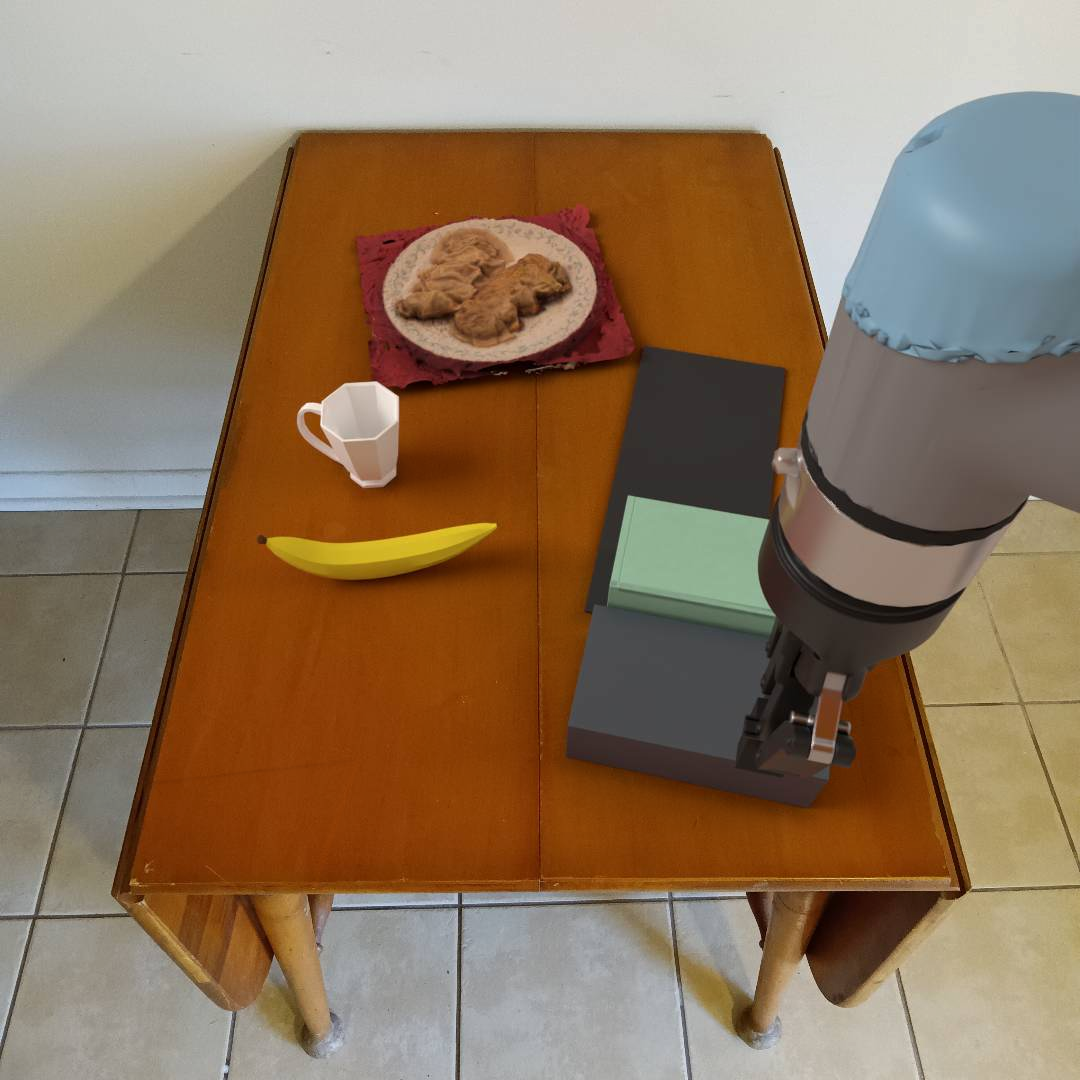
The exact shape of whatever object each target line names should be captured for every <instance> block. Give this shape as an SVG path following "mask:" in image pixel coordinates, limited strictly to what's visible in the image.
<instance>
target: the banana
mask: <svg viewBox="0 0 1080 1080" xmlns="http://www.w3.org/2000/svg"><path fill="white" fill-rule="evenodd" d="M498 527H499V524H498V523H495V522H494V523H490V522H480V523H479V522H478V523H472V524H471V523H470V524H464V525H457V526H452V527H451V526H450V527H445V528H441V529H435V530H431V531H427V532H422V533H415V534H410V535H404V536H397V537H392V538H391V537H390V538H385V539H376V540H369V541H357V542H356V541H355V542H323V541H319V540H311V539H307V538H300V537H294V536H274V537H265V536H264V535H263V534H259V535H257V537H256V541H257V544H258V545H265V546H266V547H267V549H269V550H270V551H271V552H272V553H273V554H274V555H275V556H276V557H278V558H279V559H280V560H282V561H283V562H285V563H287V564H288V565H290V566H292V567H294V568H296V569H298V570H300V571H303V572H305V573H308V574H310V575H314V576H318V577H321V578H327V579H332V580H333V579H335V580H346V581H347V580H349V581H356V580H357V581H358V580H361V581H362V580H373V579H380V578H388V577H389V578H390V577H394V576H398V575H402V574H407V573H408V574H409V573H411V572H415V571H419V570H422V569H426V568H430V567H432V566H435V565H438V564H441V563H444V562H447V561H448V560H451V559H453V558H455V557H457V556H460V555H461V554H463V553H464V552H466V551H467V550H470V548H472V547H474V546H475V545H477V544H479V543H480V542H481V541H482V540H484V539H485V538H487V537H488V536H489V535H490V534H492V533H493V532H494V531H495V530H497V529H498Z"/></svg>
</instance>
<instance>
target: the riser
mask: <svg viewBox="0 0 1080 1080" xmlns="http://www.w3.org/2000/svg"><path fill="white" fill-rule="evenodd" d="M768 641H769V638H767V637H762V636H757V635H752V634H746V633H741V632H736V631H731V630H726V629H720V628H715V627H710V626H705V625H700V624H694V623H689V622H684V621H679V620H674V619H668V618H663V617H658V616H653V615H648V614H642V613H637V612H632V611H627V610H622V609H616V608H611V607H606V606H601V605H596V604H595V605H594V608H593V613H591V617H590V623H589V626H588V632H587V636H586V641H585V646H584V649H583V654H582V658H581V663H580V667H579V672H578V676H577V677H578V678H577V682H576V685H575V686H576V687H575V691H574V695H573V700H572V705H571V710H570V714H569V719H568V724H567V732H566V733H567V734H566V747H565V748H566V750H565V757H566V758H570V759H574V760H579V761H583V762H588V763H593V764H597V765H603V766H607V767H611V768H617V769H621V770H626V771H631V772H635V773H640V774H645V775H650V776H653V777H659V778H663V779H669V780H674V781H678V782H682V783H687V784H692V785H696V786H700V787H705V788H710V789H716V790H721V791H725V792H729V793H733V794H740V795H742V796H743V795H744V796H749V797H753V798H758V799H762V800H767V801H772V802H775V803H782V804H786V805H791V806H795V807H800V808H805V809H809V808H810V806H811V805H812V804H813V802H814V801H815V800H816V798H817V797H818V796H819V794H820V792H821V791H822V790H823V789H824V787H825V786H826V785H827V783H828V782H829V781H830V769H831V768H830V767H831V765H830V766H828V767H826V768H824V769H823V770H821V771H819V772H818V773H816V774H814V775H813V776H811V777H809V778H807V779H806V778H801V777H795V776H791V775H786V774H784V776H783V778H781V777H776V776H771V775H766V774H761V773H756V772H751V771H747V770H742V769H737V768H735V764H736V755H737V746H738V742H739V740H740V738H741V735H742V733H743V725H744V720H745V716H746V715H750V714H751V712H752V710H753V707H754V705H755V703H756V700H757V698H758V697H760V698H764V696H765V694H762V689H761V687H760V682H761V678H762V677H763V674H765V671H766V669H767V666H768V664H769V662H770V659H769V658H767V652H766V651H765V646H766V642H768Z"/></svg>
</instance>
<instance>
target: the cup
mask: <svg viewBox="0 0 1080 1080" xmlns="http://www.w3.org/2000/svg"><path fill="white" fill-rule="evenodd" d="M306 413H313V414H316V415H319V416H320V422H319V423H320V425H319V426H320V428H321V429H322V431H323V434H324V435H325V437H326V439H327V440H328V442H329V444H330V446H329V445H328V444H326V443H325V442H324V441H322V440H321V439H319V438H318V437H317V436H316V435H315V434H313V433H312V432H311V431H310V430H309V428H308V427H307V425H306V422H305V421H306V420H305V414H306ZM296 416H297V417H296V424H297V429H298V431H299V433H300V434H301V436H302V437H303V439H304V440H305V441H306V442H308V443H309V444H310V445H311V447H313V448H315V449H316V450H318V451H319V452H321V453H322V454H323V455H325V456H327V457H329V458H330V459H332V460H333V461H335V462H337V463H339V464H341V465H343V466H344V468H345V469H346V471H347V472H349V473H350V474H349V476H350V479H351V480H352V481H353V482H355V483H356V484H357V485H359V486H360V487H362V488H363V489H374V488H383V487H385V486H386V485H388V483H389V482H391V481H392V480H393V479H394V478H395V477H396V476H397V462H398V458H399V435H400V434H399V431H400V430H399V429H400V395H397V394H396V393H394V392H393V391H392V390H390V389H388V387H384V386H382V385H381V384H380V383H378V382H377V381H376V382H372V381H362V382H361V381H360V382H345V383H344V384H342V385H341V386H339V387H338V388H336V390H334V391H333V392H332V393H330V394H329V395H328V396H327V397H325V398H324V399H323V400H321V403H317V402H306V403H304V405H302V406H301V408H300V409H299V411H298V413H297V415H296Z"/></svg>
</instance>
